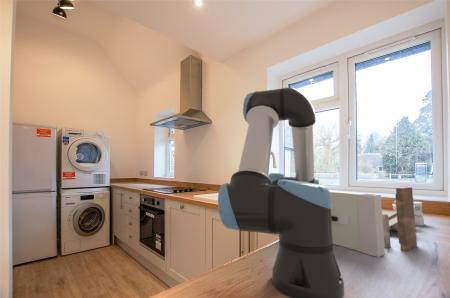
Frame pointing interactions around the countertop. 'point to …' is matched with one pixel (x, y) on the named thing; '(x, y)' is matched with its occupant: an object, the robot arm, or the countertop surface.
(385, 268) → the countertop surface
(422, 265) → the countertop surface
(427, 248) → the countertop surface
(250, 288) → the countertop surface
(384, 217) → the walnut cabinet side
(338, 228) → the cream thick square slab
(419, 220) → the light bulb box
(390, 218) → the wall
